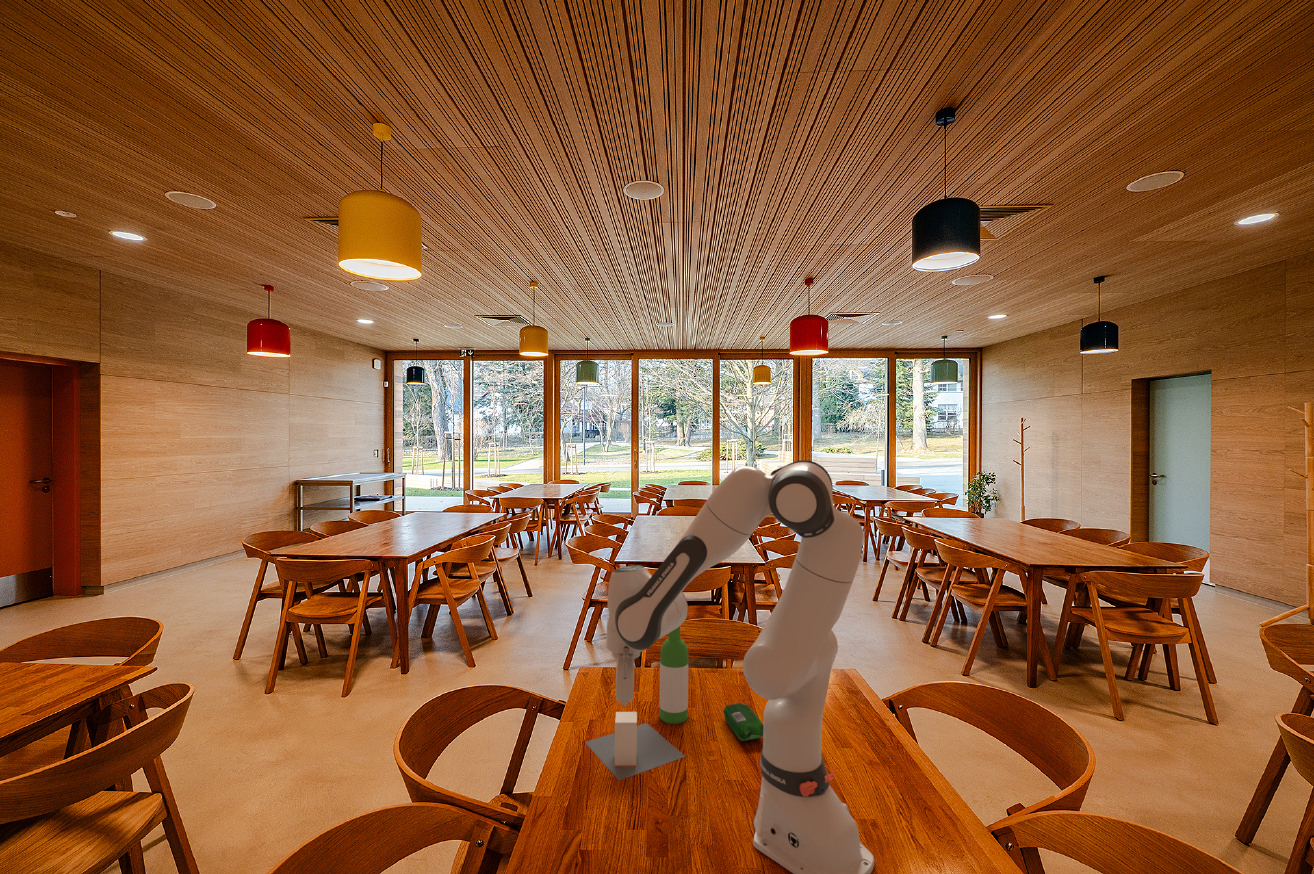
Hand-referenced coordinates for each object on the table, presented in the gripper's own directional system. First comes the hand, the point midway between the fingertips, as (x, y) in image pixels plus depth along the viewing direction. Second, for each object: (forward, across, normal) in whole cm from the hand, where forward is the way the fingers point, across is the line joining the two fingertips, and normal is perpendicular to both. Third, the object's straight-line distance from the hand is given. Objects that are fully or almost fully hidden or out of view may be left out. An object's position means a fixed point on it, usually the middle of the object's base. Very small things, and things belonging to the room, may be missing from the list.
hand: (624, 701), depth 118 cm
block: (+17, +8, -1) cm, 19 cm away
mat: (+18, +12, -2) cm, 22 cm away
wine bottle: (+18, +28, -13) cm, 36 cm away
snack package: (+18, +21, -31) cm, 42 cm away
